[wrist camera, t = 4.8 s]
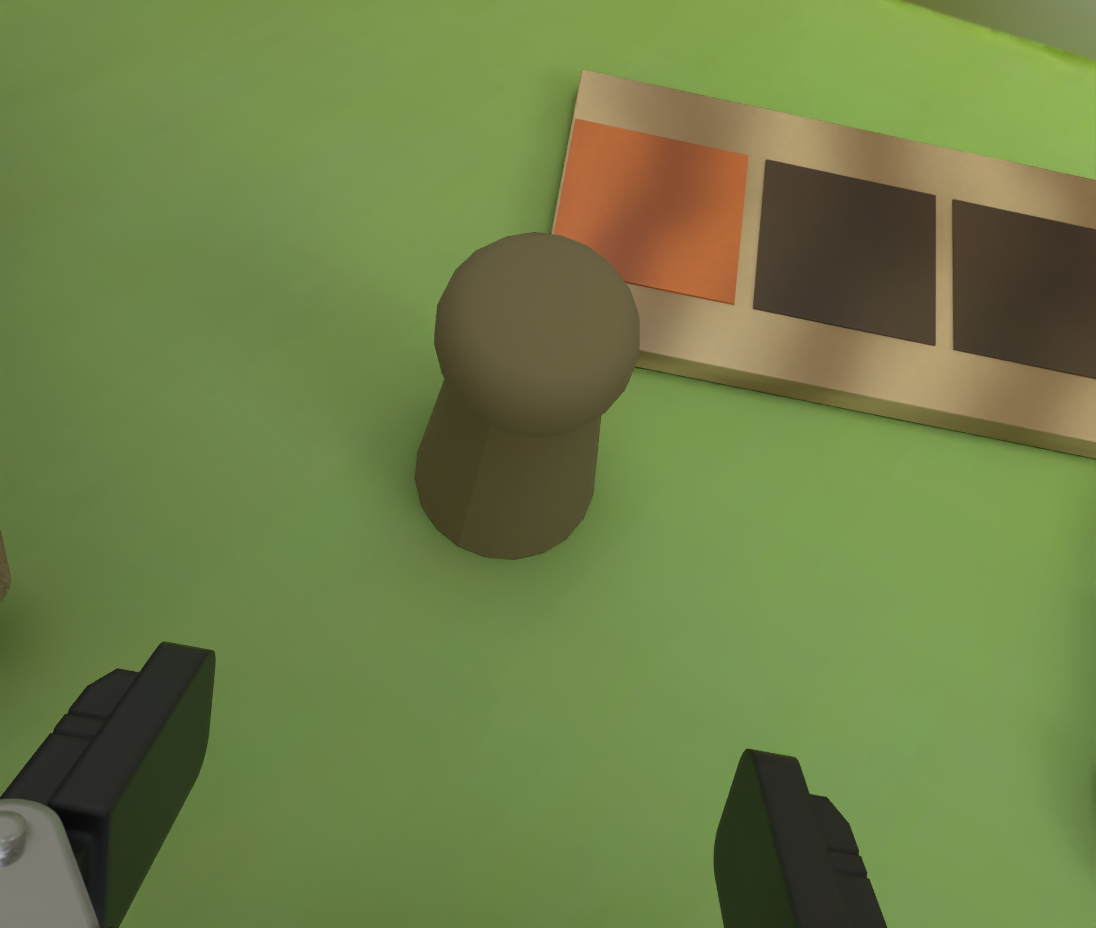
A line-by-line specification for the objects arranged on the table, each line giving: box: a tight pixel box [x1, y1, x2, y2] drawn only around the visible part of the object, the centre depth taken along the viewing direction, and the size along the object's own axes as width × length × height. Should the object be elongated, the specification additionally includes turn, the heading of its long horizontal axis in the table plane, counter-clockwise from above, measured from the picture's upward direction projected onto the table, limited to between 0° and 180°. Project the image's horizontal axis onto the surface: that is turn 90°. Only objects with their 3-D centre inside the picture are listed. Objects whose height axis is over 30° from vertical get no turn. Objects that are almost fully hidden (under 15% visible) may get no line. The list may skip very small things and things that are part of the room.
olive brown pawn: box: [415, 232, 640, 559], centre depth 29 cm, size 6×6×11 cm
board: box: [551, 70, 1096, 459], centre depth 39 cm, size 22×12×1 cm, turn 81°
